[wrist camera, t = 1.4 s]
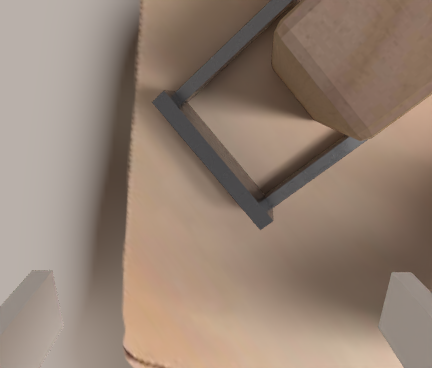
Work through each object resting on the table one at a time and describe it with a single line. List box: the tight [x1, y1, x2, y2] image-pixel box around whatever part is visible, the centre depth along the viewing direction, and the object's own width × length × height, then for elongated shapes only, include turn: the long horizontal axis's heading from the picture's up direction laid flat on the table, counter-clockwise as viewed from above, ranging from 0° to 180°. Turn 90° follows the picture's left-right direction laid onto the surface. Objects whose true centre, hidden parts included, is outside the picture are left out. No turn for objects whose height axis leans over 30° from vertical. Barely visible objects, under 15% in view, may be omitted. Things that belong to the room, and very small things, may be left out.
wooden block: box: [271, 0, 432, 141], centre depth 28 cm, size 10×10×20 cm
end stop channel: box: [152, 0, 368, 230], centre depth 37 cm, size 21×20×6 cm
